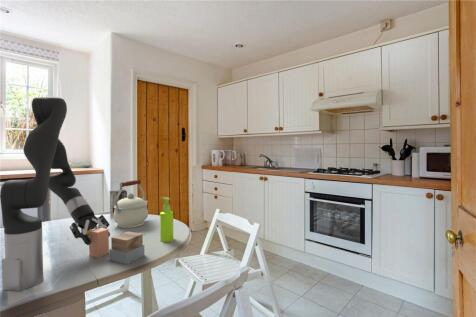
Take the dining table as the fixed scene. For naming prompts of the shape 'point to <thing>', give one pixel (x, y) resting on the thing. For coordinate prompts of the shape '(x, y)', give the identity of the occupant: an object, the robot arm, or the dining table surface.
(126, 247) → the tower top
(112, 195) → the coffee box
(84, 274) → the dining table surface
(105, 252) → the pillar
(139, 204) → the kettle
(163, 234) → the soap dispenser
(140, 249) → the tower base
